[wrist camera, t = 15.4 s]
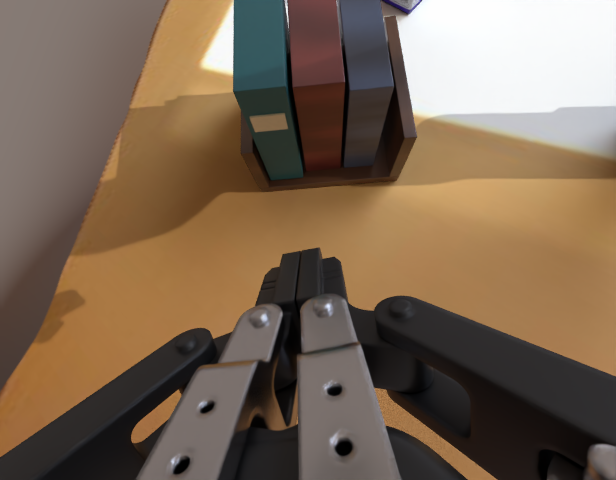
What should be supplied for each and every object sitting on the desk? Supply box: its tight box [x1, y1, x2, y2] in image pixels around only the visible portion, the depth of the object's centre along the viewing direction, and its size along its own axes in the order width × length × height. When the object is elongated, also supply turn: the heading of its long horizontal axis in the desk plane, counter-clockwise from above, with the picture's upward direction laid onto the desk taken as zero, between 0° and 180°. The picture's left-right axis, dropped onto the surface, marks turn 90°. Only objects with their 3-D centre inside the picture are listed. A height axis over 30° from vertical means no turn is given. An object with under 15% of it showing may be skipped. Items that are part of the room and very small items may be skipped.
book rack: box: [241, 0, 417, 192], centre depth 33 cm, size 15×17×15 cm
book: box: [233, 0, 303, 180], centre depth 32 cm, size 12×4×15 cm, turn 3°
